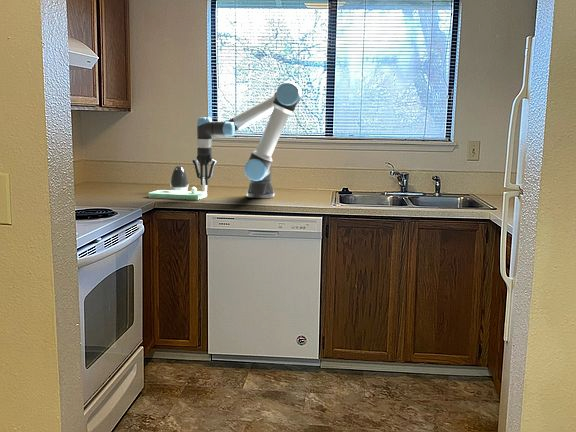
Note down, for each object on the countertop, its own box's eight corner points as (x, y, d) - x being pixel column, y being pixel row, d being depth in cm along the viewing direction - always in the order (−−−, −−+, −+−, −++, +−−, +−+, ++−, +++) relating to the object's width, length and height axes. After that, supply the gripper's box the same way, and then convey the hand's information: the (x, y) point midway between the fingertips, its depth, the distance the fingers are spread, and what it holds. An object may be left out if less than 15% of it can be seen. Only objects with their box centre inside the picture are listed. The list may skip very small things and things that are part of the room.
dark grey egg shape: (167, 193, 334) (166, 166, 331) (175, 190, 344) (174, 164, 341) (184, 194, 331) (183, 167, 329) (191, 191, 341) (191, 165, 339)
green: (206, 196, 324) (206, 191, 324) (197, 200, 311) (197, 195, 310) (159, 194, 330) (159, 189, 329) (148, 197, 316) (148, 193, 316)
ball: (197, 192, 319) (197, 186, 319) (195, 193, 316) (195, 187, 315) (191, 192, 320) (191, 186, 319) (189, 193, 317) (189, 187, 316)
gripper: (218, 147, 315) (218, 191, 319) (195, 146, 317) (195, 189, 321) (213, 147, 307) (213, 192, 311) (190, 147, 310) (190, 191, 314)
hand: (204, 191), depth 316 cm, fingers closed
